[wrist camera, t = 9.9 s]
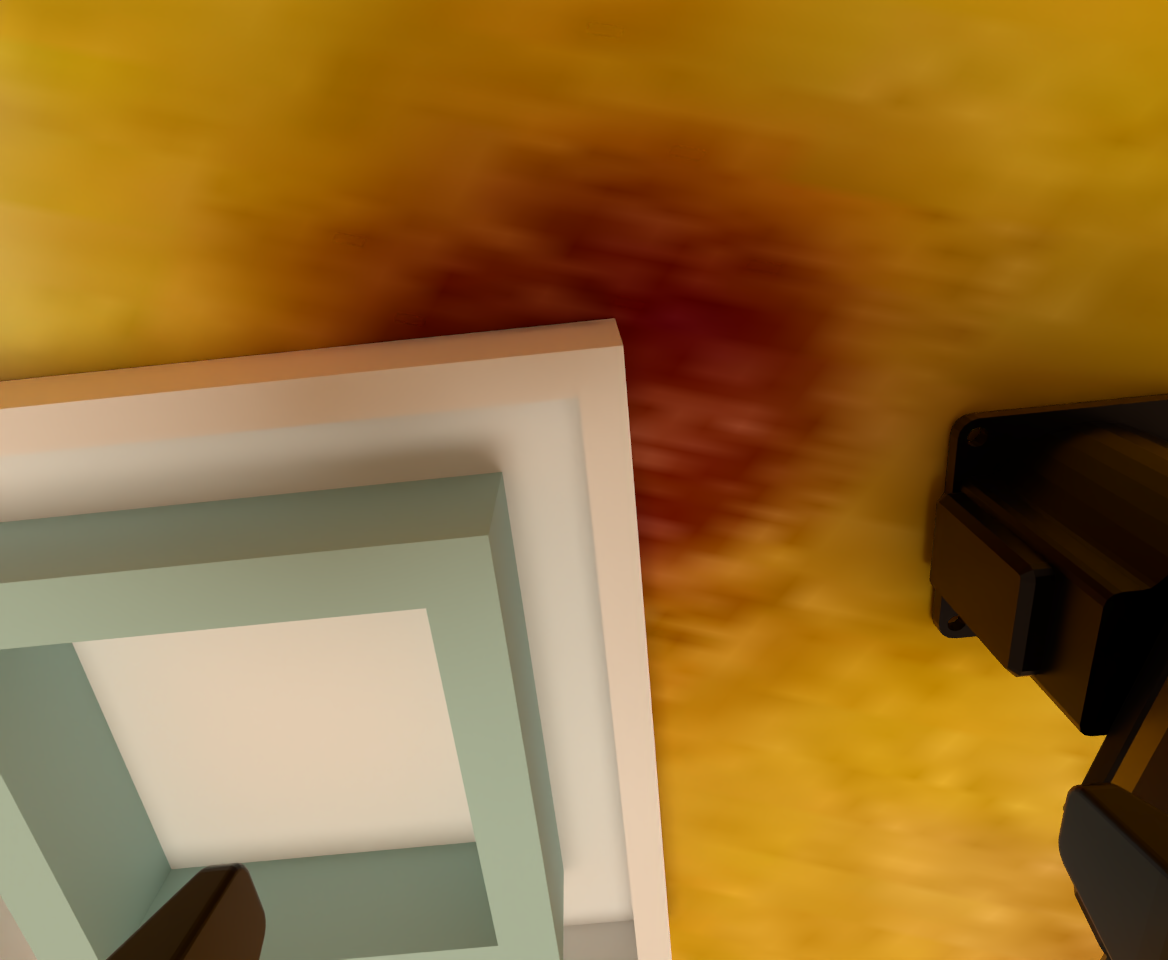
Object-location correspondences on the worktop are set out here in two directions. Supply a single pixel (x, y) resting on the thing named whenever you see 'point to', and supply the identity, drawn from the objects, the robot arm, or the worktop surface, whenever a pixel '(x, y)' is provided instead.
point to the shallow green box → (261, 596)
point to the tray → (379, 640)
